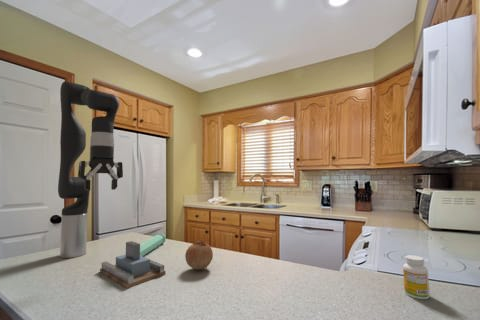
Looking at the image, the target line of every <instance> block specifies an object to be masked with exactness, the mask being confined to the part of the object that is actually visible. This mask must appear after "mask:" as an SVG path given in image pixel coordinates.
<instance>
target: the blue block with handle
mask: <svg viewBox="0 0 480 320" xmlns="http://www.w3.org/2000/svg"><path fill="white" fill-rule="evenodd" d="M140 244H141V243H138V242H136V241H133V240H132V241H131V240H130V241H126V242H125V254H123V255H118V256H115V265H116V267H118V268H120V269H122V270H124V271H126V272H128V273H130V274H132V275H134V277H135V276H138V275H141V274H144V273H147V272H150V260H151V259H150V258H147V257H145V256H140Z"/></svg>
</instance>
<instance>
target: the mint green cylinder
mask: <svg viewBox="0 0 480 320" xmlns="http://www.w3.org/2000/svg"><path fill="white" fill-rule="evenodd" d="M165 242H166V236H165V234H164V233H162V232H157V233H156V234H155V235H154V236H153V237H150V238H149V239H146V240H145V241H144V242H142V243H139V244H140V256H143V257H145V256H146V255H147V254H149V253H151V252H152V251H153V250H155V249H156V248H158V247H159V246H161V245H163V244H165Z"/></svg>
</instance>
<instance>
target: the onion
mask: <svg viewBox="0 0 480 320" xmlns="http://www.w3.org/2000/svg"><path fill="white" fill-rule="evenodd" d="M185 251H186V252H185V255H184V256H185V262H186V264H187V266H189V267H190V268H192V269H193V270H198V271H200V270H202V271H203V270H205V269H207V268H208V266H210V264H211V262H212V260H213V256H214V252H213V249H212V247H211V245H210V244H208V243H206V242H205V241H202V240H197V241H196V242H194V243H192V244H191V245H190V246H188V248H187V249H186V250H185Z"/></svg>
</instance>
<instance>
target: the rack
mask: <svg viewBox="0 0 480 320" xmlns="http://www.w3.org/2000/svg"><path fill="white" fill-rule="evenodd" d="M99 272H100V273H101V274H103V275H104V276H106V277H107V278H109V279H111V280H113V281H114V282H116V283H118V284H119V285H121V286H123V287H124V288H126V289H129V288H131V287H134V286H136V285H139V284H142V283H145V282H147V281H151V280H153V279H155V278H160V277H162V276H165V275H167V274H166V270H165V265H164V264H162V263H159V262H157V261H154V260H151V259H150V272H147V273H144V274H141V275H138V276H135V277H134V275H132V274H130V273H128V272H126V271H124V270H122V269H120V268H118V267H116V264H112V263H111V262H108V261H103V262H101V268H100V269H99Z"/></svg>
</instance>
